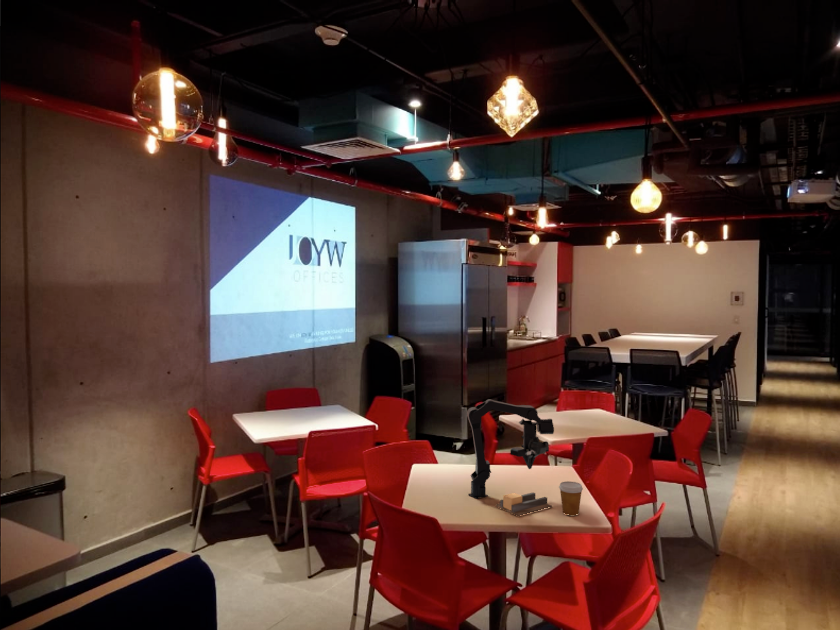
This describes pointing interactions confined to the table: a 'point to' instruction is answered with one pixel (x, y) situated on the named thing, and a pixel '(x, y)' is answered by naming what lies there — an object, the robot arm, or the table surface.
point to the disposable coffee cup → (570, 497)
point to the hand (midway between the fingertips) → (529, 468)
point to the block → (511, 500)
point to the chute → (527, 504)
